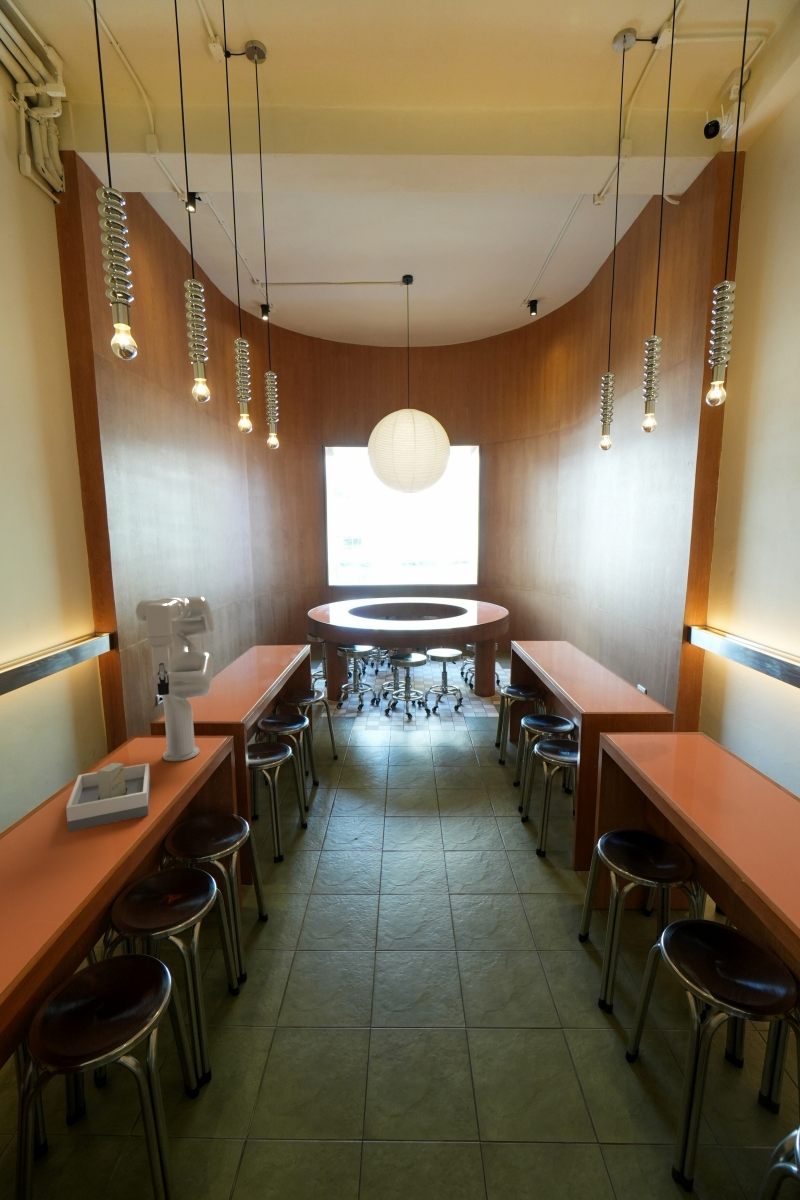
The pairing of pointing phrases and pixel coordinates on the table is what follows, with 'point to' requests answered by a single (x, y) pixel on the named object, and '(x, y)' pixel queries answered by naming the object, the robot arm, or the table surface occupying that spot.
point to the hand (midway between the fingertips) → (163, 690)
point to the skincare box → (111, 781)
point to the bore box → (93, 811)
